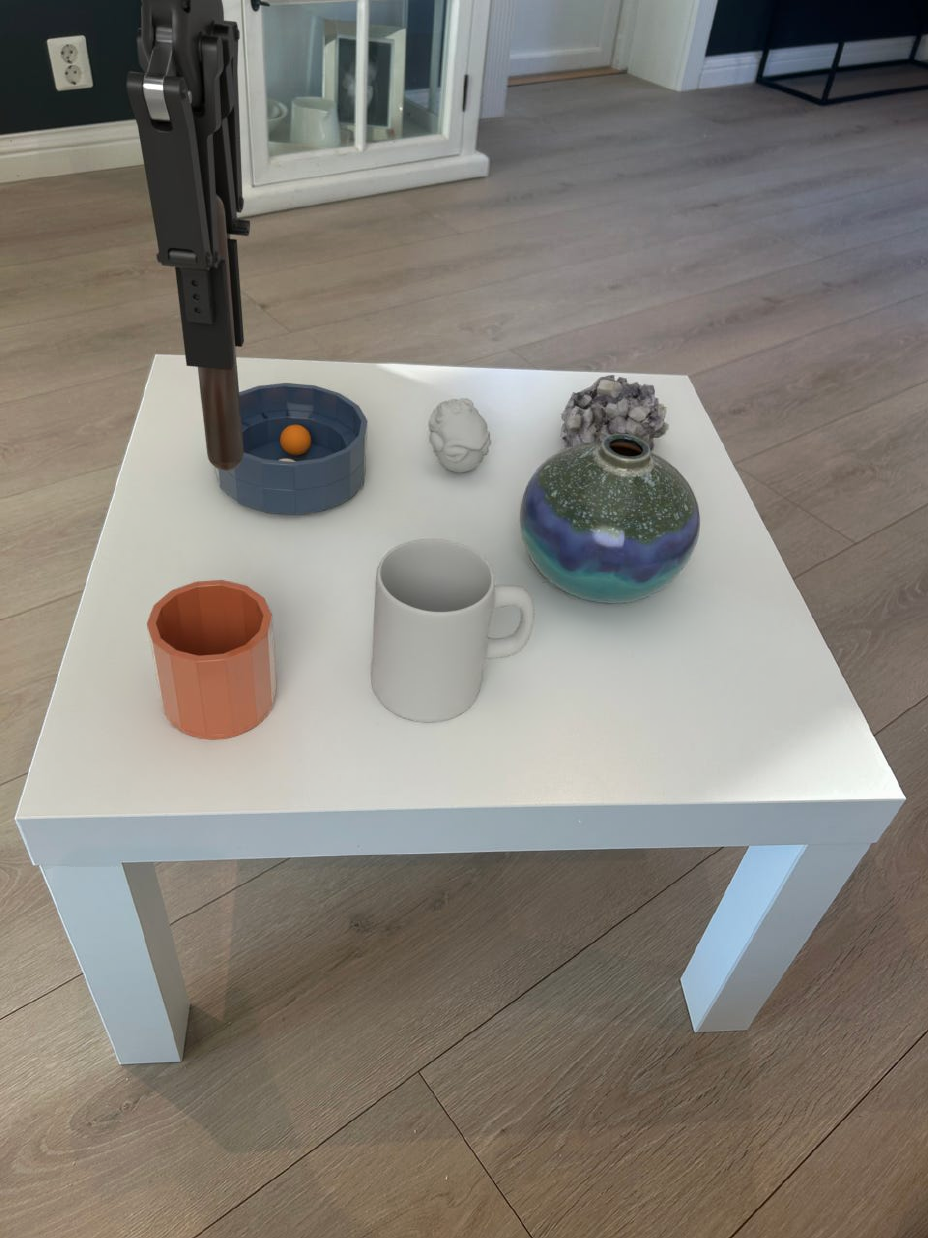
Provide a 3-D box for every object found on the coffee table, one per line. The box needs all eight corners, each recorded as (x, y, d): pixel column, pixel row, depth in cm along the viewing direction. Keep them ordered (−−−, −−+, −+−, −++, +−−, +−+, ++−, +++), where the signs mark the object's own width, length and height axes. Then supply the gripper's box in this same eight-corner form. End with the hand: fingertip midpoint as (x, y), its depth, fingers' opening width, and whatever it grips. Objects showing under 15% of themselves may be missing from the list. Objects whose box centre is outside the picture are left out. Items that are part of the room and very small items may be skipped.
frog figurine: (463, 442, 101) (469, 382, 96) (500, 477, 97) (509, 416, 92) (413, 456, 98) (417, 395, 94) (449, 492, 94) (455, 430, 89)
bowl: (202, 512, 88) (196, 456, 84) (232, 430, 99) (228, 376, 95) (357, 525, 89) (358, 471, 85) (371, 442, 99) (372, 390, 95)
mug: (376, 727, 71) (382, 618, 64) (365, 647, 77) (369, 538, 70) (534, 716, 73) (556, 610, 66) (510, 639, 80) (529, 533, 72)
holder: (149, 736, 69) (133, 656, 63) (177, 653, 75) (165, 574, 69) (264, 744, 69) (259, 666, 64) (283, 662, 75) (279, 584, 70)
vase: (668, 528, 93) (704, 406, 84) (693, 638, 82) (737, 510, 73) (510, 514, 92) (529, 389, 83) (512, 622, 81) (535, 492, 72)
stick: (205, 476, 65) (173, 193, 52) (213, 456, 67) (184, 178, 54) (240, 479, 65) (217, 197, 52) (248, 459, 67) (227, 182, 54)
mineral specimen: (556, 446, 95) (610, 355, 93) (528, 427, 103) (577, 342, 101) (650, 501, 100) (704, 415, 97) (617, 478, 108) (665, 398, 106)
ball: (278, 460, 94) (277, 433, 92) (283, 443, 97) (282, 417, 95) (309, 462, 95) (308, 436, 93) (313, 446, 97) (312, 420, 95)
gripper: (215, -89, 39) (251, 424, 54) (283, -128, 50) (296, 305, 66) (26, -110, 38) (117, 411, 54) (137, -145, 50) (186, 294, 66)
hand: (215, 352), depth 60 cm, fingers closed on stick, 2 cm apart
